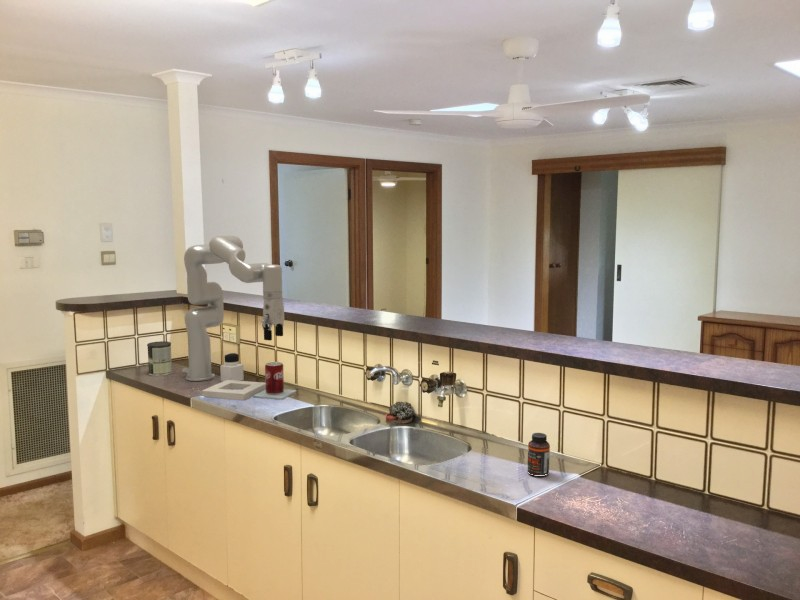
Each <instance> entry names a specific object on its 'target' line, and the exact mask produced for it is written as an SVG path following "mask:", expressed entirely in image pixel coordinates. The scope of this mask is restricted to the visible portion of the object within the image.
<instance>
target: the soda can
mask: <svg viewBox="0 0 800 600" xmlns="http://www.w3.org/2000/svg"><path fill="white" fill-rule="evenodd" d="M264 372H265V375H264V377H265V378H264V381H265V382H264V383H265V384H266V393H267V394H269V395H278V394H282V393H283V392H284V389H285V388H284V387H285V386H284V385H285V383H284V381H285V379H284V364H283V362H279V361H271V362H270V361H269V362H266V364H265V366H264Z"/></svg>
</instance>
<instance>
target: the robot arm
mask: <svg viewBox="0 0 800 600" xmlns="http://www.w3.org/2000/svg"><path fill="white" fill-rule="evenodd" d="M185 250H186V251H185V252H184V256H183V262H184V267H185V271H186V292H187V293H186V295H187V299H188V302H189V304H191V305H194V306H197V305H199V307H194V308H191V309H189V310H187V311H186V313H184V324H185V329H186V334H187V336H186V337H187V349H188V350H187V352H188V353H187V354H188V356H187V357H188V367H183V368H182V370H181V371H182V373H183V374H186V375H185V380H187V381H190V382H203V381H209V380H212V379H214V378H216V374H215V373H213V372H212V356H211V354H212V353H211V338H210V335H209V333H208V332H207V330H206V329H209V328H215V327H219V326H221V325H222V323H223V322H224V315H225V313H224V292H223V288H222V287H221V285H220V284H219V283H218V282H215V281H208V273H207V271H206V269H205V267H204V266H203V265H214V264H218V265H219V264H223V263H226V264H227V265H228V269H229V271H230V273H231V275H232V276H234V277H235V278H236V279H237V280H239V281H240V282H242V283H244V284H245V283H246V284H253V283H262V296H263V297H262V298H263V299H262V300H263V307H262V308H263V310H262V319H261V326H262V330H263V340H264V341H272V340H273V330H272V327H273V326H275V328H274V330H275V331H274V332H275V333H274V335H275V336H276V337H283V336H284V321H285V308H284V307H285V306H284V300H283V270H282V269H283V267H282V266H281V265H279V264H270V263H267V262H259V263H245V260H246V251H245V250H244V245H243V241H242V240H241V239H240V238H239V237H238V236H236V235H218V236H214V237H212V239H210V241H209V242H208V244H197V245H196V244H195V245H192V246H190V247H188V248H187V249H185ZM200 305H207V306H201V307H200Z"/></svg>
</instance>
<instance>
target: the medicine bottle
mask: <svg viewBox="0 0 800 600" xmlns="http://www.w3.org/2000/svg"><path fill="white" fill-rule="evenodd" d="M239 359H240V355H239V354H238V353H236V352H230V353H226V354H224V364H221V365H220V367H219V368H220V381H221V382H223V381H225V380H236V381H245V379H244V376H245V375H244V374H245V373H244V364H243V363H239V362H240V360H239Z"/></svg>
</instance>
